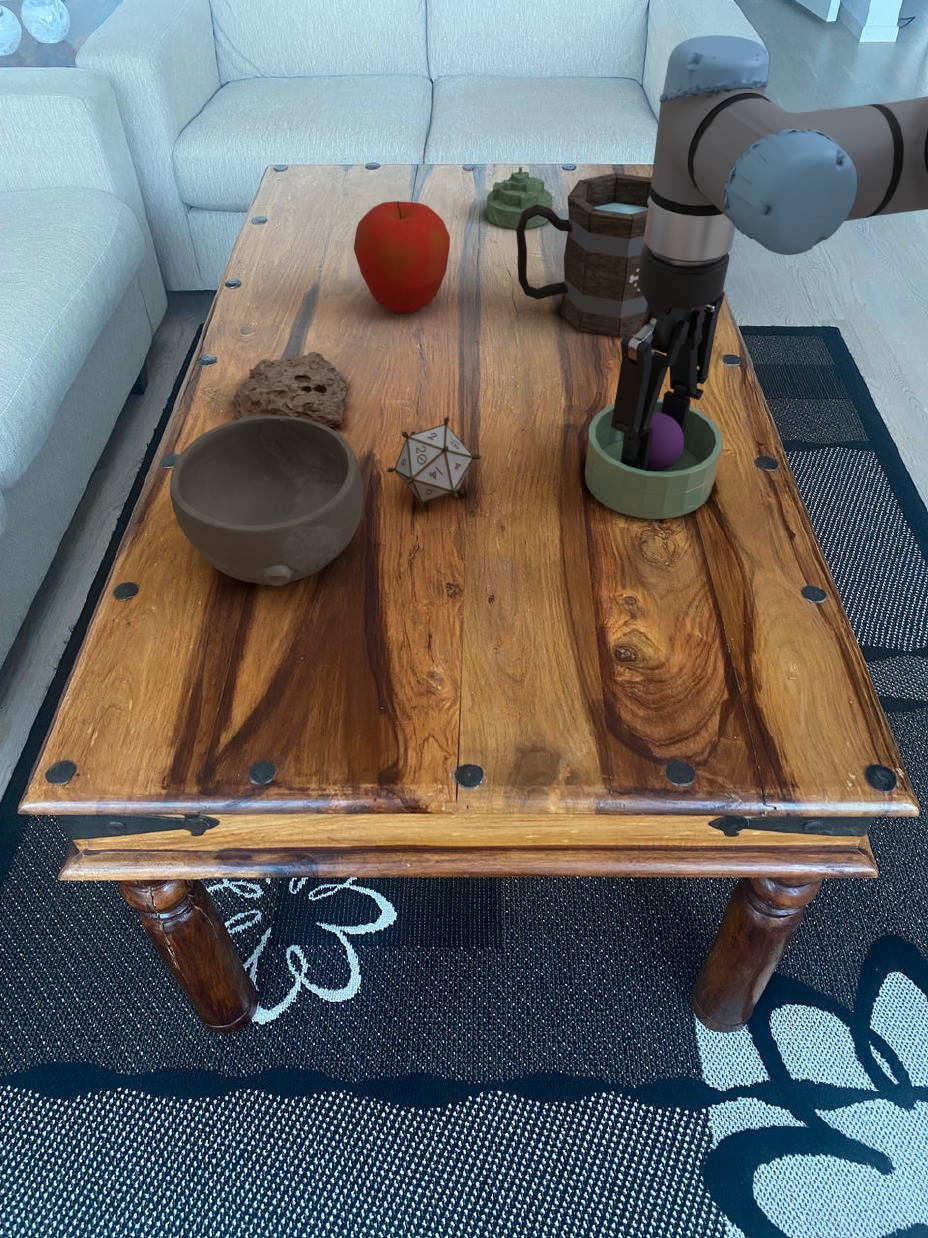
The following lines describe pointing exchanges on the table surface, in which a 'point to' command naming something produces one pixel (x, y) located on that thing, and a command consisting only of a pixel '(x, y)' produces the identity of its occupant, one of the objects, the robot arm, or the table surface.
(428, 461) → the game die
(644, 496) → the green bowl
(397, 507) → the table surface
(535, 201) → the decorative artifact
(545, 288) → the mug
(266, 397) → the rock
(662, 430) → the plum ball
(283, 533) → the bowl
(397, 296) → the apple
